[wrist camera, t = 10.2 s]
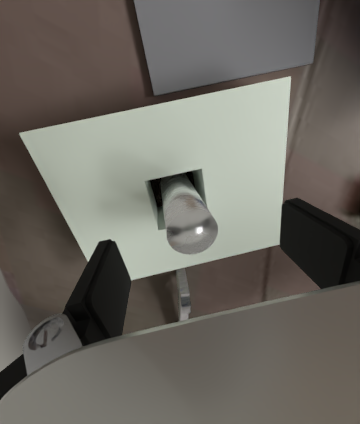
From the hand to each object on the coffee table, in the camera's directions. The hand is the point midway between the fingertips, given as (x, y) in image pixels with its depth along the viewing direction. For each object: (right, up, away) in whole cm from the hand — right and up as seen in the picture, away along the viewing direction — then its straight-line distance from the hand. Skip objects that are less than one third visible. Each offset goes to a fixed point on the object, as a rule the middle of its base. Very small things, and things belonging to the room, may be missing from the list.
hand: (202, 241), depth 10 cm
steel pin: (-2, +5, +9) cm, 11 cm away
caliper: (-1, -14, +19) cm, 23 cm away
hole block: (-2, +5, +9) cm, 11 cm away
